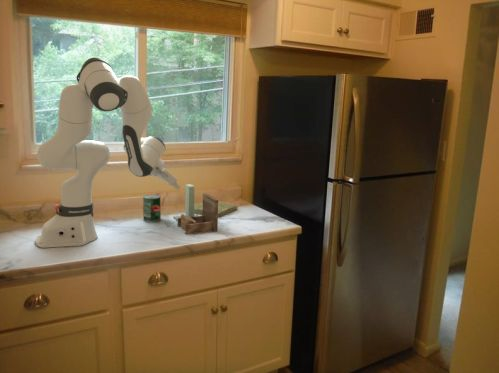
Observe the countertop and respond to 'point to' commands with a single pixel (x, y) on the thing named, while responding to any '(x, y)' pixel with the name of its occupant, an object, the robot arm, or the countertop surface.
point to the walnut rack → (204, 217)
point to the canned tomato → (151, 208)
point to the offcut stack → (186, 221)
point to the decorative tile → (222, 208)
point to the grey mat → (180, 217)
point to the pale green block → (189, 200)
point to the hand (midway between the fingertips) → (175, 186)
